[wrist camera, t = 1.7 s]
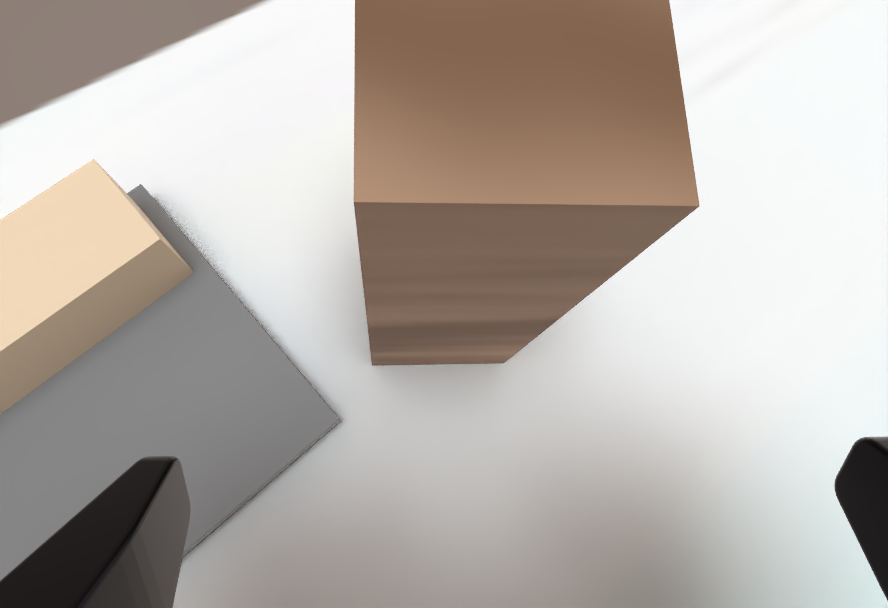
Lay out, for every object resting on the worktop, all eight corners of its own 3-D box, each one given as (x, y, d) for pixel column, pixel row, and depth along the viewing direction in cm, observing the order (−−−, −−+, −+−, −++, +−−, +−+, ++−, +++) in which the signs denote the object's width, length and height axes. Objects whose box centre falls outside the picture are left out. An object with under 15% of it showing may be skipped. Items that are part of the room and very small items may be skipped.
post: (504, 363, 20) (699, 206, 8) (371, 365, 20) (353, 201, 7) (496, 239, 21) (658, -72, 9) (371, 239, 21) (355, -91, 8)
